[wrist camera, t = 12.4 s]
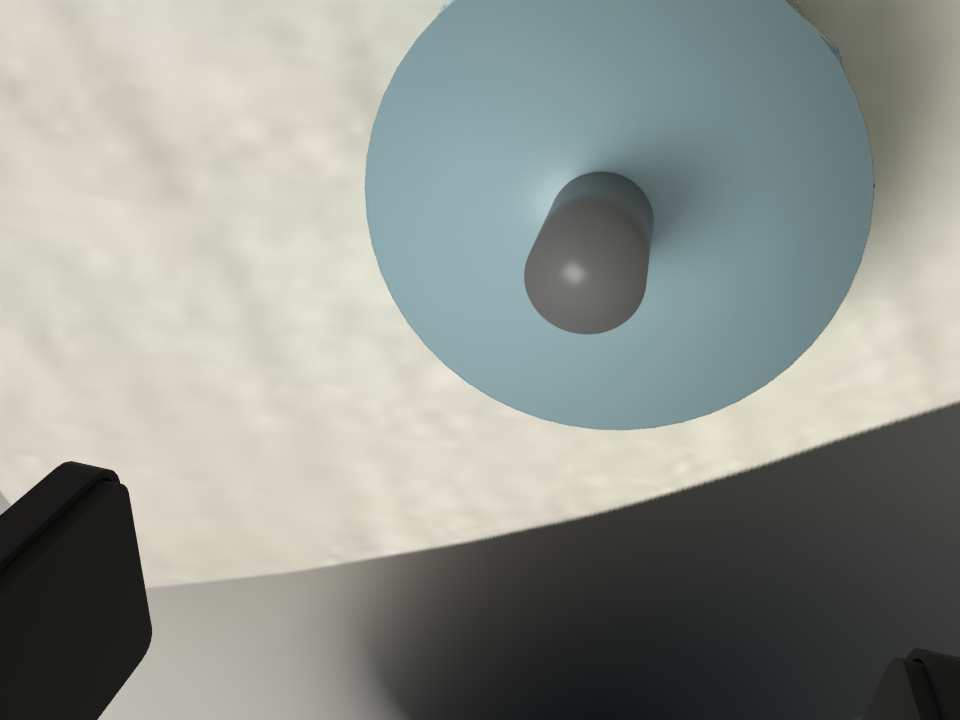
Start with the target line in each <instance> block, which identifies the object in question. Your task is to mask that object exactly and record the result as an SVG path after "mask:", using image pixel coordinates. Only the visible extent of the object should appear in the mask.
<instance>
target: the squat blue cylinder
mask: <svg viewBox="0 0 960 720" xmlns="http://www.w3.org/2000/svg"><path fill="white" fill-rule="evenodd" d="M874 187H875V185H874V182H873V160H872V154H871V149H870V143H869V138H868V132H867V127H866V123H865V120H864V117H863V115H862V112H861V109H860V106H859V103H858V100H857V97H856V94H855V91H854V89H853V88H852V86H851V84H850V82H849V80H848V78H847V76H846V74H845V72H844V69H843V65H842V61H841V58H840V54H839V50H838V48H837V47H835V46H834V45H833V44H832V43H831V42H830V41H829V40H828V39H827V38H826V37H825V36H824V35H823V34H822V33H821V32H820V31H819V30H818V29H817V28H816V27H815V26H814V25H813V24H811V23H810V22H809V21H808V20H807V19H805V18H804V17H803V16H802V15H801V14H799V13H798V12H797V11H796V10H795V9H794V8H793V7H792V6H791V5H790V4H789V3H788V2H787V1H786V0H454V1H452V2H450V3H448V4H446V5H444V6H443V7H442V9H441V11H440V12H439V14H438V16H437V17H436V19H435V20H434V21H433V22H432V23H431V24H430V25H429V26H428V27H427V28H426V30H425V31H424V32H423V33H422V34H421V35H420V36H419V37H418V38H417V40H416V41H415V42H414V44H413V45H412V47H411V48H410V50H409V51H408V53H407V54H406V56H405V57H404V59H403V60H402V61H401V63H400V64H399V66H398V67H397V69H396V71H395V73H394V75H393V77H392V79H391V81H390V83H389V85H388V87H387V89H386V91H385V93H384V95H383V98H382V101H381V104H380V107H379V110H378V113H377V116H376V119H375V122H374V124H373V128H372V133H371V138H370V143H369V148H368V153H367V162H366V177H365V198H366V214H367V221H368V226H369V231H370V237H371V242H372V246H373V250H374V253H375V256H376V259H377V262H378V265H379V268H380V271H381V274H382V276H383V278H384V280H385V283H386V285H387V287H388V289H389V291H390V293H391V296H392V298H393V300H394V301H395V303H396V304H397V306H398V308H399V309H400V311H401V313H402V314H403V316H404V317H405V319H406V321H407V322H408V324H409V325H410V326H411V328H412V329H413V330H414V331H415V333H416V334H417V335H418V336H419V338H420V339H421V340H422V341H423V343H424V344H425V345H426V346H427V347H428V348H429V349H430V350H431V351H432V352H433V353H434V354H435V355H436V356H437V357H438V358H439V359H440V360H441V361H442V362H443V363H444V364H445V365H446V366H447V367H448V368H450V369H451V370H452V371H453V372H455V373H456V374H457V375H458V376H460V377H461V378H462V379H463V380H465V381H466V382H467V383H469V384H470V385H472V386H474V387H475V388H477V389H478V390H480V391H481V392H483V393H484V394H486V395H488V396H489V397H491V398H493V399H495V400H497V401H499V402H501V403H503V404H505V405H507V406H509V407H511V408H513V409H516V410H518V411H521V412H524V413H527V414H529V415H532V416H535V417H537V418H540V419H544V420H548V421H552V422H556V423H560V424H564V425H568V426H575V427H583V428H590V429H600V430H634V429H646V428H656V427H661V426H666V425H671V424H677V423H682V422H685V421H688V420H692V419H695V418H698V417H701V416H705V415H708V414H711V413H713V412H715V411H718V410H720V409H722V408H725V407H727V406H729V405H731V404H734V403H736V402H738V401H740V400H742V399H743V398H745V397H747V396H748V395H750V394H752V393H753V392H755V391H757V390H759V389H760V388H762V387H764V386H765V385H767V384H768V383H769V382H770V381H772V380H773V379H774V378H776V377H777V376H778V375H780V374H781V373H782V372H784V371H785V370H786V369H787V368H789V367H790V366H791V365H792V364H793V363H794V362H795V361H796V360H797V359H798V358H799V357H800V356H801V355H802V354H803V353H804V352H805V351H806V350H807V349H808V348H809V347H810V346H811V345H812V344H813V343H814V342H815V340H816V339H817V338H818V337H819V335H820V334H821V333H822V331H823V330H824V329H825V328H826V326H827V325H828V324H829V323H830V321H831V320H832V318H833V317H834V315H835V313H836V312H837V310H838V308H839V307H840V305H841V303H842V302H843V300H844V298H845V296H846V295H847V293H848V291H849V289H850V286H851V284H852V282H853V279H854V277H855V275H856V272H857V270H858V268H859V265H860V263H861V260H862V256H863V252H864V249H865V245H866V241H867V237H868V234H869V230H870V222H871V214H872V205H873V197H874Z"/></svg>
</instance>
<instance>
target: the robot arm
mask: <svg viewBox="0 0 960 720" xmlns="http://www.w3.org/2000/svg"><path fill="white" fill-rule="evenodd" d="M151 637H152V626H151V620H150V615H149V608H148V603H147V597H146V591H145V585H144V579H143V573H142V567H141V562H140V556H139V550H138V544H137V538H136V532H135V527H134V521H133V515H132V509H131V503H130V497H129V492H128V489H127V487H126V486H125V485H123V484H120V481H119V478H118V475H117V474H116V473H115V472H114V471H112V470H109V469H104V468H100V467H95V466H91V465H86V464H82V463H77V462H73V461H70V462H65V463H63V464H61V465H60V466H58V467H57V468H55V469H54V470H53V471H52V472H51V473H50V474H48V475H47V476H46V477H45V478H44V479H43V480H41V481H40V482H39V483H38V484H37V485H35V486H34V487H33V488H32V489H31V490H30V491H28V492H27V493H26V494H25V495H24V496H23V497H21V498H20V499H19V500H18V501H17V502H15V503H14V504H13V505H12V506H11V507H10V508H8V510H6V511H5V512H4V513H3V514H1V515H0V720H97V719H98V718H99V716H100V715H101V714H102V713H103V711H104V710H105V709H106V707H107V706H108V705H109V703H110V702H111V701H112V699H113V698H114V697H115V695H116V694H117V693H118V691H119V690H120V689H121V687H122V686H123V685H124V683H125V682H126V681H127V679H128V678H129V677H130V675H131V674H132V673H133V671H134V670H135V669H136V667H137V666H138V665H139V663H140V662H141V661H142V659H143V657H144V655H145V654H146V652H147V650H148V648H149V645H150V642H151ZM862 720H960V657H955V656H951V655H947V654H942V653H938V652H933V651H928V650H924V649H918V648H916V649H914V650H912V651H911V652H910V654H909V655H908V657H907V658H906V659H902V658H897V657H895V658H893V659H892V660H891V662H890V663H889V665H888V667H887V669H886V671H885V673H884V675H883V677H882V679H881V681H880V683H879V686H878V687H877V689H876V692H875V694H874V696H873V698H872V700H871V702H870V704H869V706H868V708H867V710H866V712H865V714H864V717H863V718H862Z"/></svg>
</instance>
